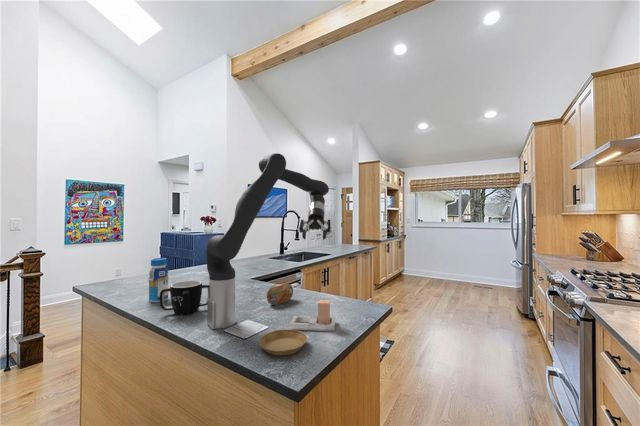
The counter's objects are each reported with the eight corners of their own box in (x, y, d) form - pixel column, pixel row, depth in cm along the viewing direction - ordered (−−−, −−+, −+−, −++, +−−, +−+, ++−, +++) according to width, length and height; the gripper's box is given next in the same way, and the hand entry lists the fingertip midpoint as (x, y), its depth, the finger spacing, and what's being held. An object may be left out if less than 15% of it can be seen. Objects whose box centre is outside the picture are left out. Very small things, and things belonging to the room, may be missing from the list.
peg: (329, 328, 97) (329, 303, 98) (318, 328, 98) (318, 303, 98) (329, 324, 101) (329, 300, 102) (319, 323, 102) (319, 299, 102)
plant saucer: (250, 346, 85) (250, 337, 85) (289, 333, 94) (289, 325, 95) (274, 365, 74) (274, 356, 74) (316, 348, 83) (316, 340, 83)
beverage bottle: (149, 298, 134) (150, 258, 135) (169, 296, 138) (169, 257, 138) (147, 303, 127) (147, 260, 127) (167, 301, 130) (168, 259, 130)
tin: (270, 307, 120) (270, 288, 121) (265, 306, 122) (265, 287, 122) (293, 299, 132) (293, 282, 133) (288, 298, 134) (288, 281, 134)
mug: (156, 314, 112) (156, 285, 112) (190, 303, 126) (190, 277, 126) (181, 321, 104) (181, 290, 105) (215, 309, 119) (215, 281, 119)
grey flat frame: (289, 329, 97) (289, 323, 97) (293, 320, 105) (293, 315, 105) (334, 331, 95) (334, 325, 95) (335, 322, 103) (335, 316, 103)
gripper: (301, 207, 129) (296, 232, 117) (331, 206, 128) (329, 232, 116) (302, 218, 134) (299, 243, 123) (331, 218, 133) (330, 243, 121)
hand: (314, 238), depth 119 cm, fingers open, 8 cm apart
